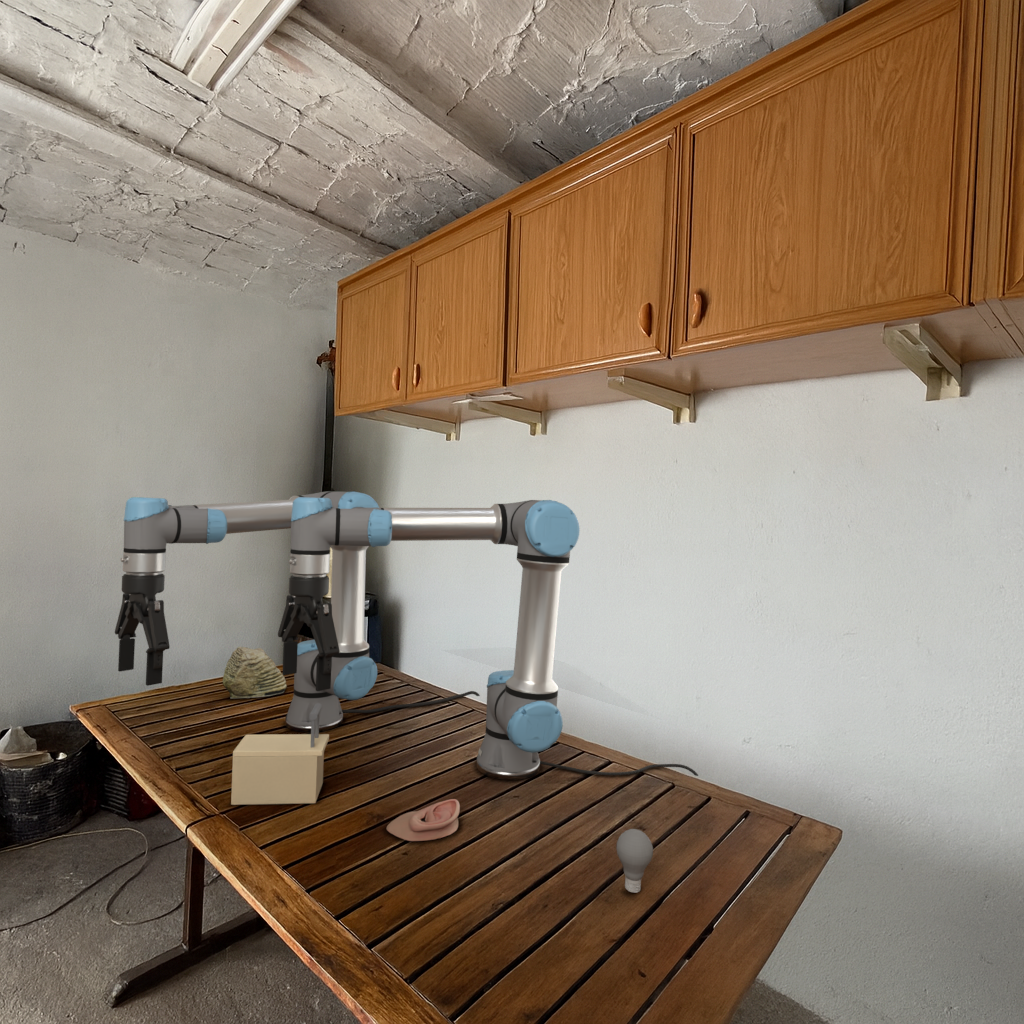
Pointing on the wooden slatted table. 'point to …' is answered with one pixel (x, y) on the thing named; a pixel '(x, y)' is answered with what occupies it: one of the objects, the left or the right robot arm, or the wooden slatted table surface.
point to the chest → (276, 779)
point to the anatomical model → (427, 822)
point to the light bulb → (634, 857)
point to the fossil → (252, 674)
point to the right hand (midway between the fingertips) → (305, 681)
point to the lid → (286, 742)
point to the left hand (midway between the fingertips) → (139, 677)
